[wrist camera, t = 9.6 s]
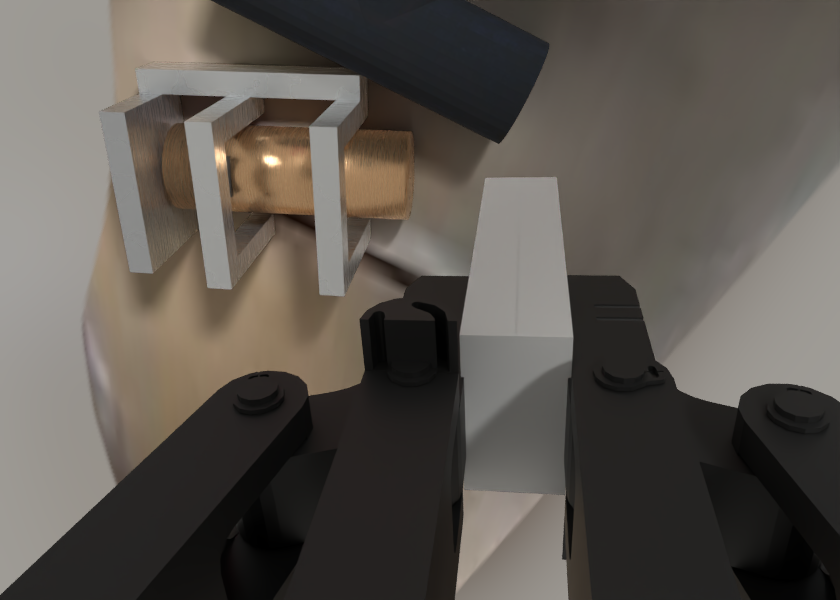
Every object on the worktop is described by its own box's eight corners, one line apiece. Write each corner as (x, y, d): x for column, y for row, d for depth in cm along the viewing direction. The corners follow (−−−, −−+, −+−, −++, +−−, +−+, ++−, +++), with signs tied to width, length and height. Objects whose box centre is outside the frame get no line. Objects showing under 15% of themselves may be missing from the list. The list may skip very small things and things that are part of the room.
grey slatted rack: (366, 68, 36) (335, 98, 30) (370, 238, 40) (344, 296, 34) (153, 61, 37) (79, 89, 31) (178, 228, 42) (118, 282, 35)
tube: (415, 126, 38) (404, 137, 34) (413, 209, 39) (402, 229, 35) (194, 118, 39) (156, 128, 35) (201, 198, 40) (166, 217, 36)
